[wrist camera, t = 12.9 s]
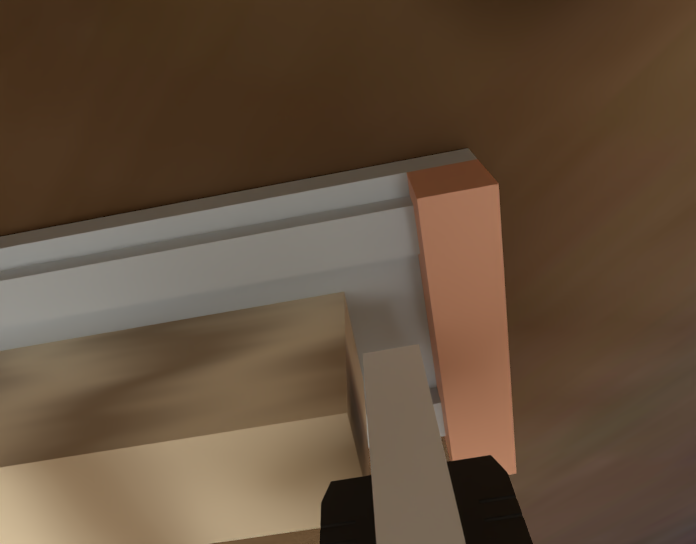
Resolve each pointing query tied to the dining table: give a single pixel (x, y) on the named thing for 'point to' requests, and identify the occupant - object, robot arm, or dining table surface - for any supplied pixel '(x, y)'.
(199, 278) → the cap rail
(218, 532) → the tan wooden block
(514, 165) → the dining table surface
